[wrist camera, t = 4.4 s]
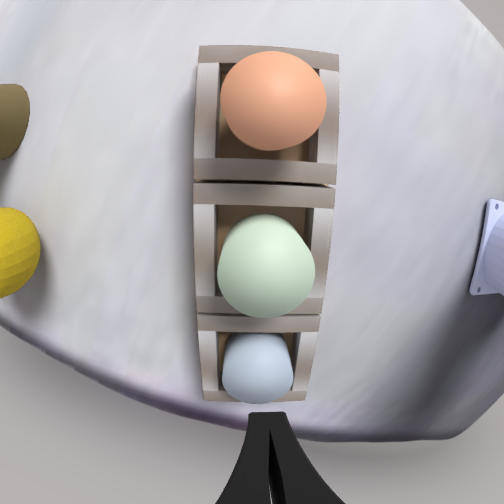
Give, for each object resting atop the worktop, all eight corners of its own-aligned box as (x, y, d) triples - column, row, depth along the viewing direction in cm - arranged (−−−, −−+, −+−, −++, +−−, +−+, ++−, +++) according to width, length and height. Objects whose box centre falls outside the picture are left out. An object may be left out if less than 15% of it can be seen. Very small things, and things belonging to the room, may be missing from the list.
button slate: (289, 324, 18) (297, 353, 15) (284, 372, 19) (289, 403, 16) (224, 323, 17) (221, 352, 15) (225, 372, 19) (223, 403, 16)
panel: (203, 55, 14) (196, 36, 11) (327, 62, 14) (342, 45, 11) (205, 377, 21) (201, 405, 18) (299, 378, 21) (306, 405, 18)
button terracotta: (310, 76, 12) (326, 57, 9) (308, 153, 13) (325, 152, 10) (227, 71, 12) (222, 49, 9) (224, 149, 13) (218, 147, 10)
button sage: (304, 214, 14) (319, 229, 11) (298, 289, 15) (309, 318, 13) (222, 212, 14) (216, 226, 11) (222, 288, 15) (217, 317, 12)
